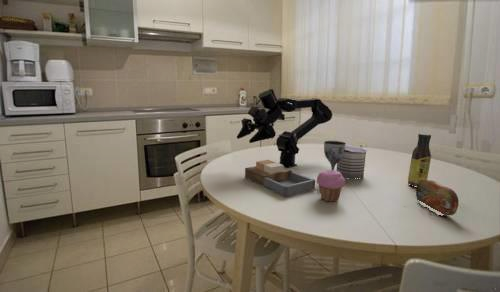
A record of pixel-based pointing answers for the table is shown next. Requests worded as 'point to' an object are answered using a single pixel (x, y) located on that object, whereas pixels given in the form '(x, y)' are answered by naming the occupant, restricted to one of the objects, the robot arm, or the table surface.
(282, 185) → the tray
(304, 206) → the table surface
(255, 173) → the brown flat block
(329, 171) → the cupcake
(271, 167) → the tile front
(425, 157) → the sauce bottle
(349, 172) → the can
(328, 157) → the wine glass
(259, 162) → the tile back
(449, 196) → the reddish-brown rounded block
